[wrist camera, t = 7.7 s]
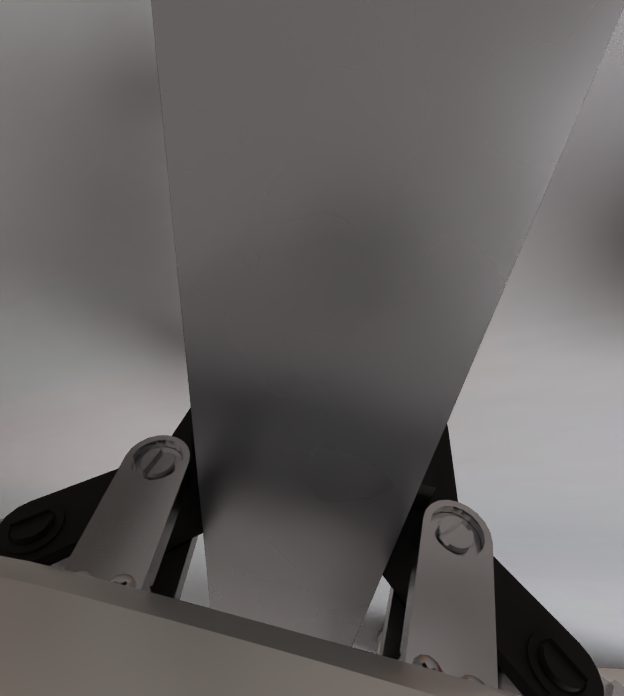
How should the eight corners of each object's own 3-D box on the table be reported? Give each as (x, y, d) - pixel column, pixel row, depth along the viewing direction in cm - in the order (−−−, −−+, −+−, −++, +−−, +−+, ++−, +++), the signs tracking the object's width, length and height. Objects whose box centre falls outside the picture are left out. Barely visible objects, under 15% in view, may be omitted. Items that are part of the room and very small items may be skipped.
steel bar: (308, -4, 8) (133, -177, 3) (493, 16, 7) (687, -142, 2) (269, 520, 18) (218, 685, 13) (344, 539, 17) (321, 716, 12)
